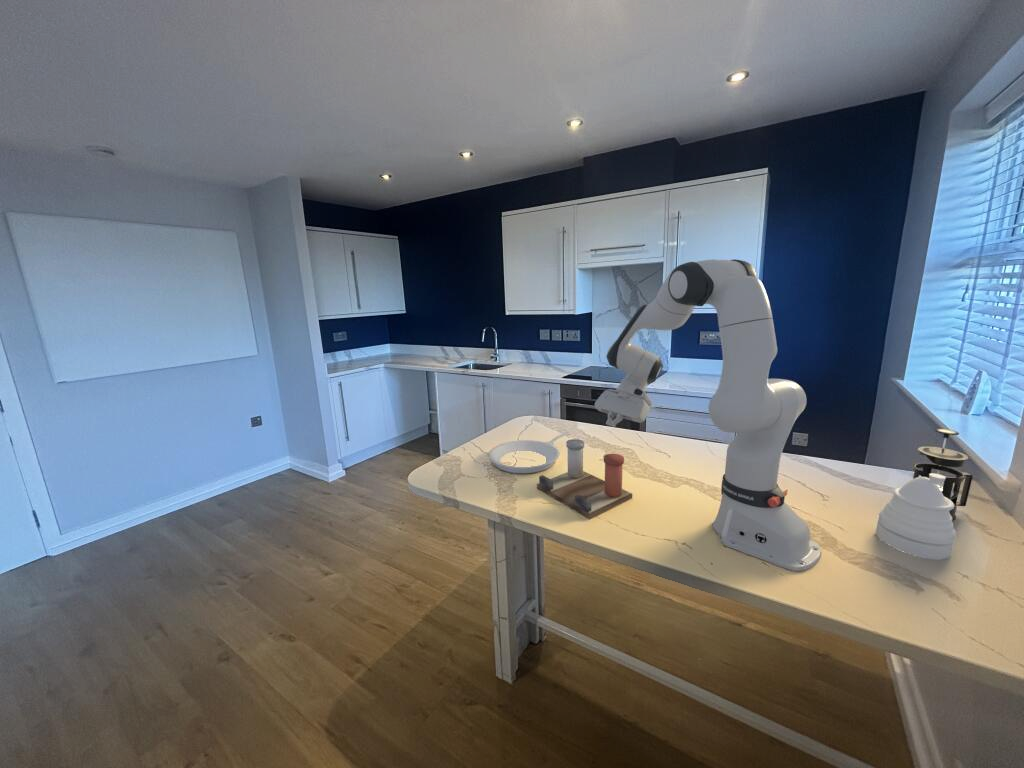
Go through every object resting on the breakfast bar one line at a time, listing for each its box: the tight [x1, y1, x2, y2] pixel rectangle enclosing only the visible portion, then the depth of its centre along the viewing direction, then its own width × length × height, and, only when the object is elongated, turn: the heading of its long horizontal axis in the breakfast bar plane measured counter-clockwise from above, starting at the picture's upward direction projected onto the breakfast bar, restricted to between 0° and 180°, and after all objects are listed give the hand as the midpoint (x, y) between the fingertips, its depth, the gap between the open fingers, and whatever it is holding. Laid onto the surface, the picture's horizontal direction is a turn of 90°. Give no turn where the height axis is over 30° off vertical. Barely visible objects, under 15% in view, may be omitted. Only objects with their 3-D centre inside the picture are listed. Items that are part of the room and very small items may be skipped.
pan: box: [488, 431, 571, 475], centre depth 153 cm, size 26×39×5 cm
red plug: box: [603, 453, 625, 497], centre depth 119 cm, size 6×6×11 cm
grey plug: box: [565, 438, 585, 478], centre depth 131 cm, size 6×6×11 cm
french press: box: [912, 428, 973, 522], centre depth 105 cm, size 12×9×23 cm
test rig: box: [536, 470, 633, 520], centre depth 124 cm, size 23×18×4 cm
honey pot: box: [875, 472, 957, 560], centre depth 93 cm, size 13×13×18 cm
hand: (609, 425), depth 139 cm, fingers closed
